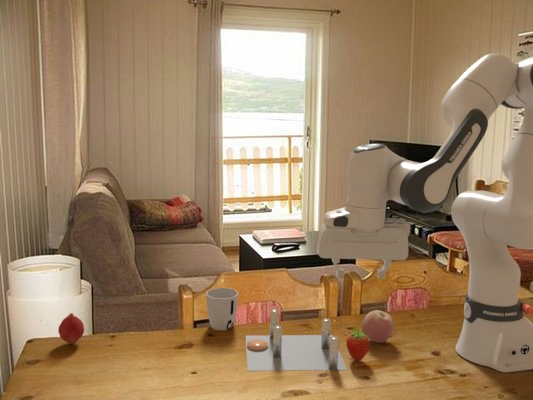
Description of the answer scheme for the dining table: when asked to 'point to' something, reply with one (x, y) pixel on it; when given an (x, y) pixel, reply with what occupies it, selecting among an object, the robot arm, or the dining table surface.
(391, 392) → the dining table surface
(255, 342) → the pad
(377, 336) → the apple
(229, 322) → the cup
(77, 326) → the onion
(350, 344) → the fruit
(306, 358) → the board
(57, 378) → the dining table surface
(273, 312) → the posts
